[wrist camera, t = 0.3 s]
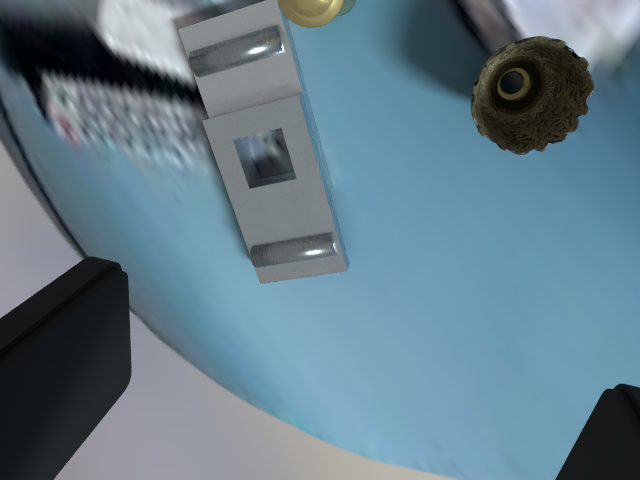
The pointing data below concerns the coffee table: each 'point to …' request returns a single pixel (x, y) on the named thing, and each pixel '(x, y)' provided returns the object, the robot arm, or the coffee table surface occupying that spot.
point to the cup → (531, 95)
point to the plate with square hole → (257, 117)
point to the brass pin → (314, 11)
